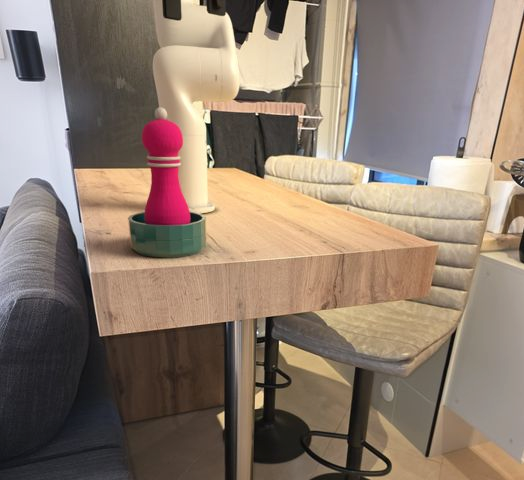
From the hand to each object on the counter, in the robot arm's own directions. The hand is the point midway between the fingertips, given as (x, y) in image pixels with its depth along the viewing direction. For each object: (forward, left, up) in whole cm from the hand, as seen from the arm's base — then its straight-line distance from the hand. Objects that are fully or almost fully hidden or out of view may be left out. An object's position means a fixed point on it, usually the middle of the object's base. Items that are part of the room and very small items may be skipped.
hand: (193, 17), depth 67 cm
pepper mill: (+6, -7, -32) cm, 34 cm away
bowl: (+6, -7, -33) cm, 34 cm away
